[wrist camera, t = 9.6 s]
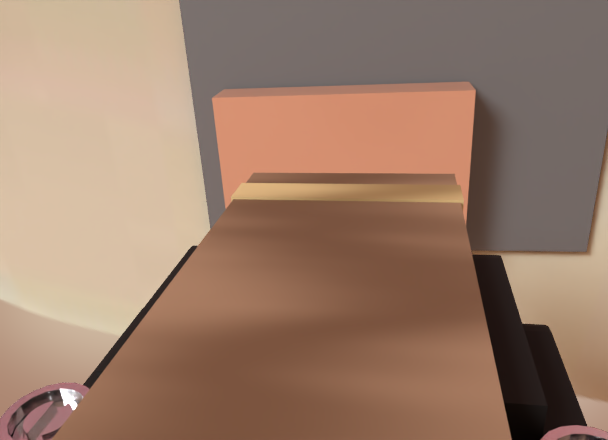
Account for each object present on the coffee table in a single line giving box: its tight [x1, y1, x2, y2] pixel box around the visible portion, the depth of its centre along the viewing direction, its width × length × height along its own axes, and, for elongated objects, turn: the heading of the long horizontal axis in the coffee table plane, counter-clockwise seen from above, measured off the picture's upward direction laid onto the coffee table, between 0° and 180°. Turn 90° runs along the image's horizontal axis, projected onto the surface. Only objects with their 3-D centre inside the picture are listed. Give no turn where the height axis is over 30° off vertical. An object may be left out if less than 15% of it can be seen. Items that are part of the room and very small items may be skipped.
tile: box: [212, 82, 476, 224], centre depth 23 cm, size 10×2×8 cm
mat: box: [179, 0, 608, 252], centre depth 22 cm, size 17×17×1 cm
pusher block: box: [52, 173, 512, 440], centre depth 8 cm, size 5×5×11 cm
